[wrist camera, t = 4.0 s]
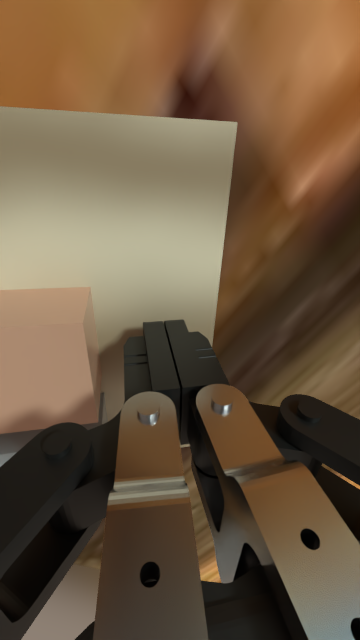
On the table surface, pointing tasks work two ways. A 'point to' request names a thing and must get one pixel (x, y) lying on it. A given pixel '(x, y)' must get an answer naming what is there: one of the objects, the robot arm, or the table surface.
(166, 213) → the board
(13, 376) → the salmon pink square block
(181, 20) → the table surface
